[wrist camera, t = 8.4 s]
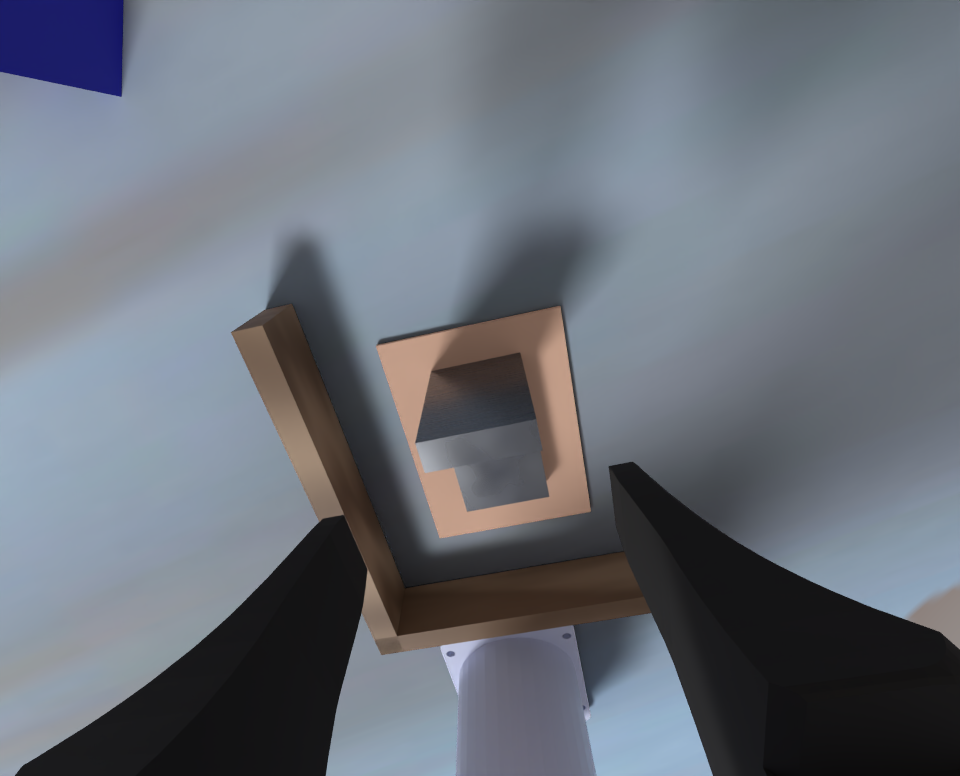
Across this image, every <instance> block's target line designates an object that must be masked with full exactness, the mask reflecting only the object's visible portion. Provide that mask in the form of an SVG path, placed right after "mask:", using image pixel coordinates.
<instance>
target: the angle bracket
mask: <svg viewBox="0 0 960 776" xmlns="http://www.w3.org/2000/svg"><path fill="white" fill-rule="evenodd" d="M415 445H416V448H417V451H418V454H419V457H420V460H421V463H422V466H423V469H424V472H425V473H429V472H434V471H439V470H444V469H449V468H454V470H455V473H456V476H457V480H458V483H459V486H460V490H461V493H462V496H463V500H464V503H465V506H466V510H467V512H469V511H475V510H480V509H486V508H491V507H497V506H502V505H508V504H513V503H518V502H524V501H529V500H535V499H540V498H546V497H549V492H548V487H547V482H546V477H545V472H544V467H543V462H542V457H541V452H540V451H543V450H542V445H541V440H540V435H539V429H538V424H537V419H536V415H535V411H534V407H533V403H532V399H531V395H530V390H529V386H528V382H527V378H526V374H525V370H524V366H523V362H522V358H521V353H520V352H519V353H514V354H510V355H505V356H500V357H495V358H491V359H486V360H481V361H477V362H472V363H467V364H462V365H458V366H453V367H448V368H443V369H439V370H434V371H431V374H430V378H429V383H428V387H427V392H426V396H425V401H424V405H423V410H422V414H421V419H420V423H419V428H418V432H417V437H416V441H415Z"/></svg>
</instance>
